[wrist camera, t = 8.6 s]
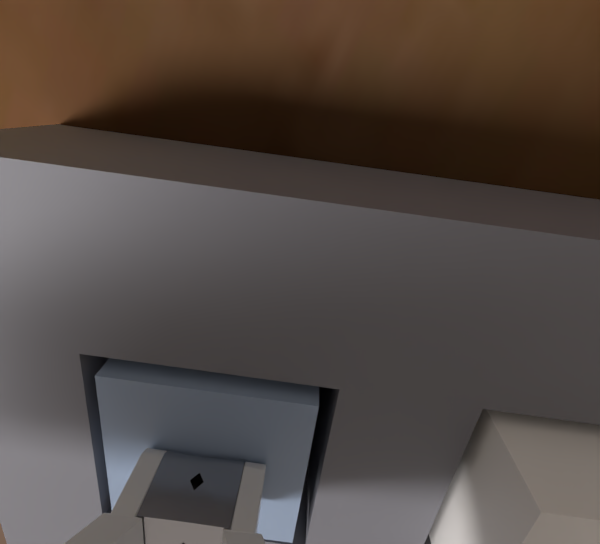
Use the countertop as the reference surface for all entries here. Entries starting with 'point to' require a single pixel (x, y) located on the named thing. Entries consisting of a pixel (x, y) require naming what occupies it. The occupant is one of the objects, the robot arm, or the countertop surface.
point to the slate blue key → (210, 428)
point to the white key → (524, 484)
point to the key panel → (282, 314)
